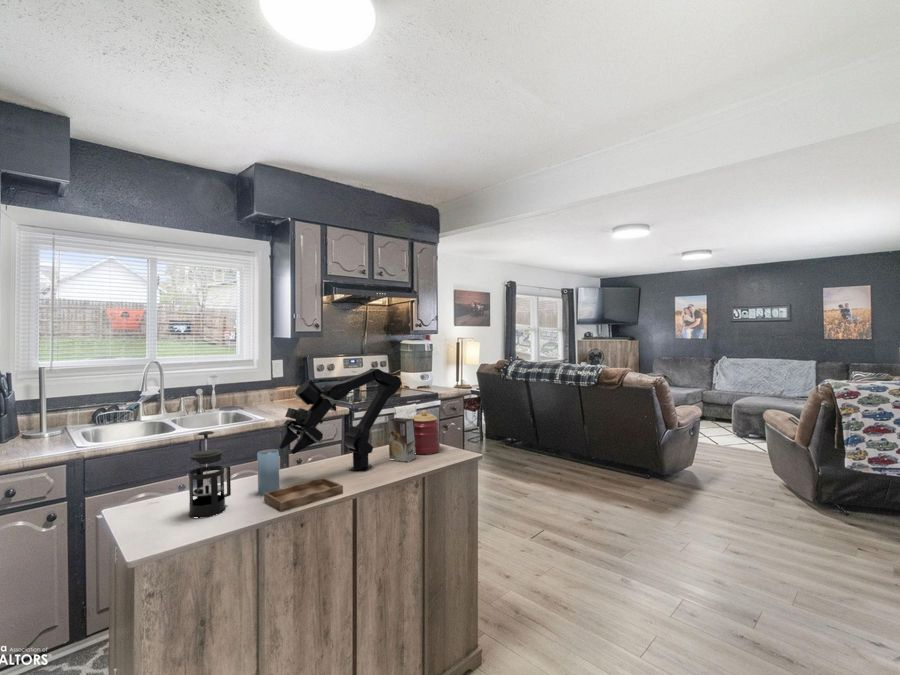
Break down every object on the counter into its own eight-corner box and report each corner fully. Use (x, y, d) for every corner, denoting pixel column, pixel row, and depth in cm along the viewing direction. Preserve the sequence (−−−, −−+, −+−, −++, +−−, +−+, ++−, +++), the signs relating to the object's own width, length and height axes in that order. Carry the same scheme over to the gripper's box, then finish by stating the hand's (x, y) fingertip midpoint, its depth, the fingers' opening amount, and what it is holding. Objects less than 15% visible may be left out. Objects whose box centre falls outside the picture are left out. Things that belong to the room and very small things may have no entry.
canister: (428, 457, 182) (427, 413, 182) (403, 453, 189) (402, 411, 189) (445, 449, 193) (445, 409, 193) (421, 446, 200) (420, 406, 200)
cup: (265, 488, 148) (265, 448, 148) (283, 489, 147) (282, 449, 147) (254, 495, 142) (253, 453, 142) (272, 496, 141) (271, 454, 140)
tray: (323, 484, 150) (323, 477, 150) (342, 493, 142) (342, 485, 142) (264, 501, 136) (263, 493, 136) (281, 511, 127) (281, 503, 127)
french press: (195, 522, 122) (193, 437, 121) (180, 514, 127) (178, 433, 127) (237, 508, 131) (235, 429, 131) (221, 501, 137) (220, 426, 137)
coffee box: (416, 458, 180) (415, 418, 180) (407, 462, 175) (406, 421, 175) (397, 456, 184) (396, 417, 184) (388, 460, 179) (387, 420, 179)
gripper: (288, 396, 159) (257, 432, 151) (313, 401, 145) (280, 441, 138) (309, 415, 164) (280, 451, 157) (335, 421, 151) (305, 461, 143)
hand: (286, 450), depth 148 cm, fingers open, 9 cm apart
